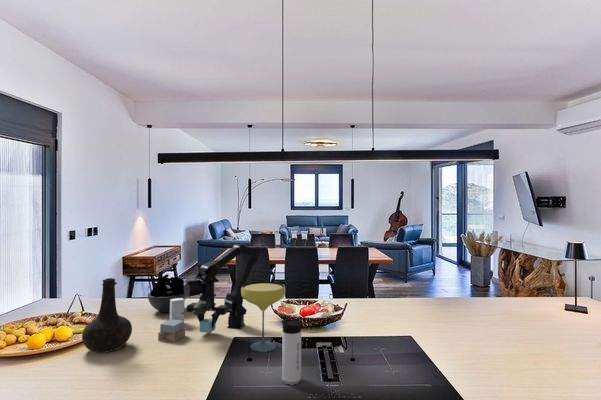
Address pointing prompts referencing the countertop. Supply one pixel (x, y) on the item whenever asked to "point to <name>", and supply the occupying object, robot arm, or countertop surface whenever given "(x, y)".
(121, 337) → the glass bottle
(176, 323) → the slate slab
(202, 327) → the teal cube
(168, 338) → the walnut slab
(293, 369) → the travel mug
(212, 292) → the robot arm
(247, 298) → the cocktail glass
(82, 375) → the countertop surface
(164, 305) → the coal bowl
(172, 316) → the skincare box
